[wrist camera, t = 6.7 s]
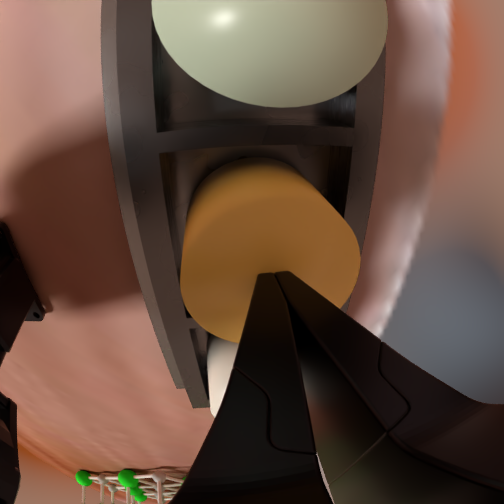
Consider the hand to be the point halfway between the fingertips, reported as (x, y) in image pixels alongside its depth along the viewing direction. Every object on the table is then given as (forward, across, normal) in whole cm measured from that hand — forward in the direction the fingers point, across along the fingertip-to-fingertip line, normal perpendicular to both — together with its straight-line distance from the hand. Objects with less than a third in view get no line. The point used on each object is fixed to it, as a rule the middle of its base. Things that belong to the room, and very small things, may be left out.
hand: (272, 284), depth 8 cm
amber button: (+4, 0, 0) cm, 4 cm away
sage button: (+3, 0, -7) cm, 8 cm away
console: (+6, 0, 0) cm, 6 cm away
